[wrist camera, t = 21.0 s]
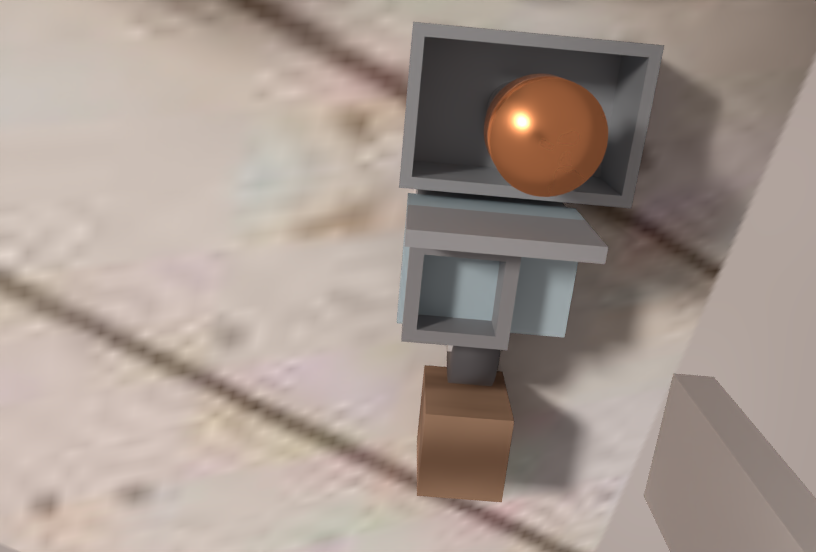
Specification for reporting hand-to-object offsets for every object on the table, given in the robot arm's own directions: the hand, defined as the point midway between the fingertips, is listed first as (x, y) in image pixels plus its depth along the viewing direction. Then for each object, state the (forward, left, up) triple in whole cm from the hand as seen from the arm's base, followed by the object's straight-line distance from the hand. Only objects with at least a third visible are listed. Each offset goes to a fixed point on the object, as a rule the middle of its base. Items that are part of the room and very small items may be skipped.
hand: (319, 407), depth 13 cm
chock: (+16, +6, -29) cm, 34 cm away
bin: (-3, +7, -29) cm, 30 cm away
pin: (-3, +7, -28) cm, 29 cm away
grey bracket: (+7, +6, -29) cm, 30 cm away
